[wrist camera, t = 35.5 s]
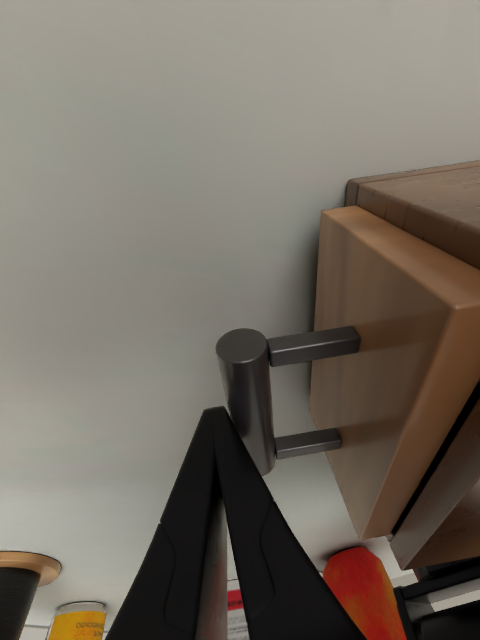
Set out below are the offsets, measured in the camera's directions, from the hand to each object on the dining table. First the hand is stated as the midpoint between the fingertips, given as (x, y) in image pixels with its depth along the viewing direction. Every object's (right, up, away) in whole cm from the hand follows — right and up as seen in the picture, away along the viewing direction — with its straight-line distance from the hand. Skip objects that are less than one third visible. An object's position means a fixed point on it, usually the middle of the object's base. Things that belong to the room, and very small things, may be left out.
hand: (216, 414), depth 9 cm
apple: (+14, -26, +25) cm, 38 cm away
